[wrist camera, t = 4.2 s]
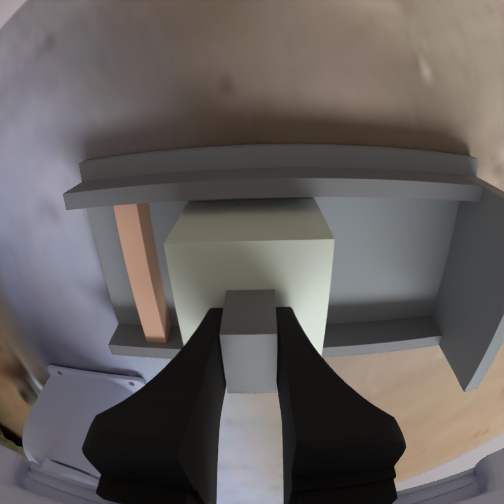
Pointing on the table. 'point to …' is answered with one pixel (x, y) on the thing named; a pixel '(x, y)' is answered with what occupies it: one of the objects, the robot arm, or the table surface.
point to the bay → (345, 245)
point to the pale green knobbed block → (251, 278)
